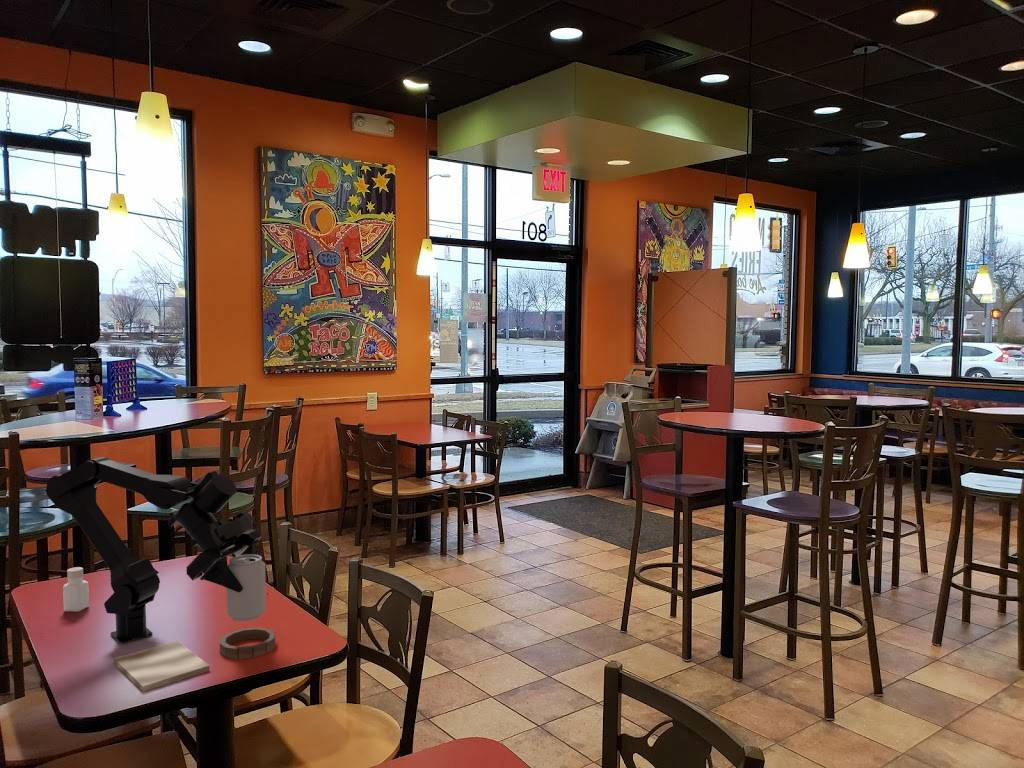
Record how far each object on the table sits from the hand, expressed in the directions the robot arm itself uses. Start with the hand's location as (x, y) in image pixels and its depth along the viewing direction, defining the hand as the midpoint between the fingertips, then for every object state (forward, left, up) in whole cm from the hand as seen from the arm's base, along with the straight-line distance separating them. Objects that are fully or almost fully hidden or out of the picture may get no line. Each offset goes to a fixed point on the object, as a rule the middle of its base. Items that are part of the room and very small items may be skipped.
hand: (252, 584), depth 152 cm
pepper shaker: (-49, -20, -13) cm, 55 cm away
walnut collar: (-1, -1, -13) cm, 13 cm away
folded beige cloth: (-4, -17, -13) cm, 22 cm away
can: (-1, -1, -7) cm, 7 cm away
